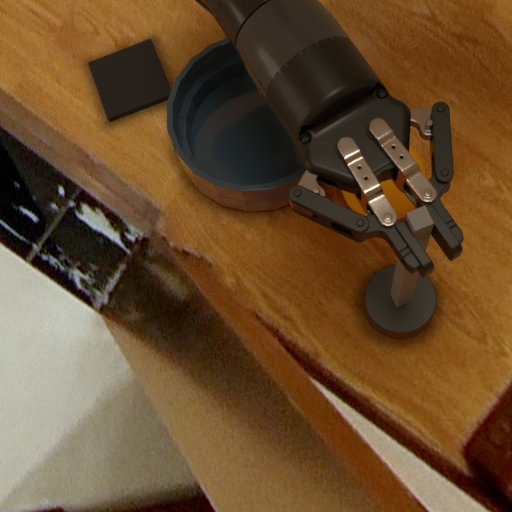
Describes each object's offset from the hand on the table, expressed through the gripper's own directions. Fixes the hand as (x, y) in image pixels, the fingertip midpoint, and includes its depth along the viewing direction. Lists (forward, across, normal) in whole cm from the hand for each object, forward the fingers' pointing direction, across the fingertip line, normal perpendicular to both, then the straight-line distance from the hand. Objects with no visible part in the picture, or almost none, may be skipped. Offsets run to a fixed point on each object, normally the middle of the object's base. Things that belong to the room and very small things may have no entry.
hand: (442, 262), depth 57 cm
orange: (-13, +5, +22) cm, 26 cm away
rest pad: (-37, -10, +22) cm, 44 cm away
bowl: (-25, -2, +22) cm, 33 cm away
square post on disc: (-3, 0, +22) cm, 22 cm away
